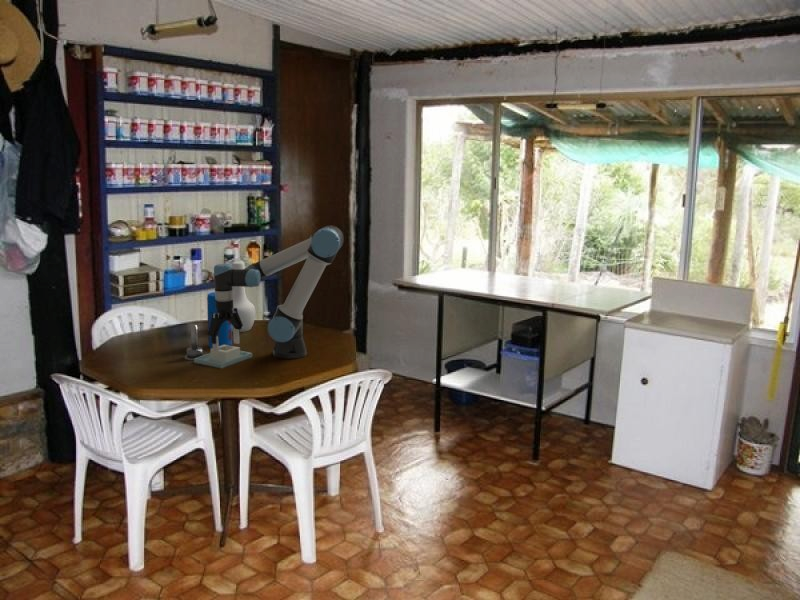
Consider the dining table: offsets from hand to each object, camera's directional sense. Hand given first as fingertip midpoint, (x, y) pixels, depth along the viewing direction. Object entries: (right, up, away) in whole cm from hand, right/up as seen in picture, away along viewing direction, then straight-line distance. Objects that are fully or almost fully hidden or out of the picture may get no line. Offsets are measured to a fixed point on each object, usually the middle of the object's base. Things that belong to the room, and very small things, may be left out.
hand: (226, 347), depth 313 cm
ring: (-1, -5, +1) cm, 6 cm away
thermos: (-9, -1, +24) cm, 26 cm away
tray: (-2, -6, +2) cm, 6 cm away
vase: (-7, +5, +55) cm, 56 cm away
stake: (-15, -5, +4) cm, 16 cm away
